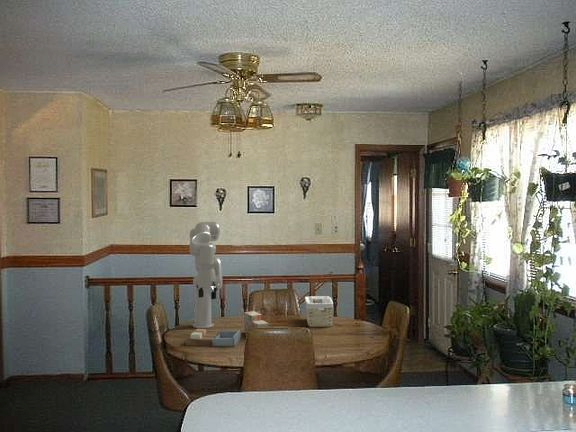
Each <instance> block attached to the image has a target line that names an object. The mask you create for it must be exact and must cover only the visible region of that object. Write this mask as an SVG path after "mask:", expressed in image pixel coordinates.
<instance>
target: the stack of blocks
mask: <svg viewBox="0 0 576 432" xmlns="http://www.w3.org/2000/svg"><path fill="white" fill-rule="evenodd" d="M243 313H244V314H243V315H244V317H243V319H244V320H243V322H244V334H246V333H247V331H248V330H249V329H251V328H268V329H269V322H267V321H265V320H264V319H263V315H262V314H261V313H258V312H256V311H255V310H254V311H245V312H243Z"/></svg>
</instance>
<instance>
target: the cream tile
mask: <svg viewBox="0 0 576 432" xmlns="http://www.w3.org/2000/svg"><path fill="white" fill-rule="evenodd" d="M190 335H191V339H201V338H202V332H195V331H193V332H192V333H191V334H190Z"/></svg>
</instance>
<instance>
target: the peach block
mask: <svg viewBox="0 0 576 432" xmlns="http://www.w3.org/2000/svg"><path fill="white" fill-rule="evenodd" d="M194 332H202V336H204V335H205V334H206V333H207V328H196V329H195V330H194Z"/></svg>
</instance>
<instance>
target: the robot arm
mask: <svg viewBox="0 0 576 432" xmlns="http://www.w3.org/2000/svg"><path fill="white" fill-rule="evenodd" d="M220 227H221V226H220V224H219V223H218V222H217V221H200V222H198V223H197V224H196V225H195V227H194V228H192V229H190V231H189V240H190V241H189V252H190V255H191V256H192V257H194V269H195V271H196V272H197V274H196V275H195V276H194V277H193V281H192V282H193V283H192V284H193V289H194V302H195V303H194V304H195V305H194V306H195V307H194V310H195V313H194V314H195V320H194V321H195V323H193V324H192V327H193V328H194V329H195V328H196V329H208V328H213V327H214V325H215V324H214V322H212V300H215V299H217V292H218V290H220V289H222V288H223V269H222V267H223V265H222V260H221V258H220V257H219V256H214V255H215V254H216V252H217V248H216V247H217V246H216V245H215V243H213V242H216V241H218V240H219V237H220V234H221V228H220ZM209 290H210V291H211V294H210V293H209V292H208V291H209Z"/></svg>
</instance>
